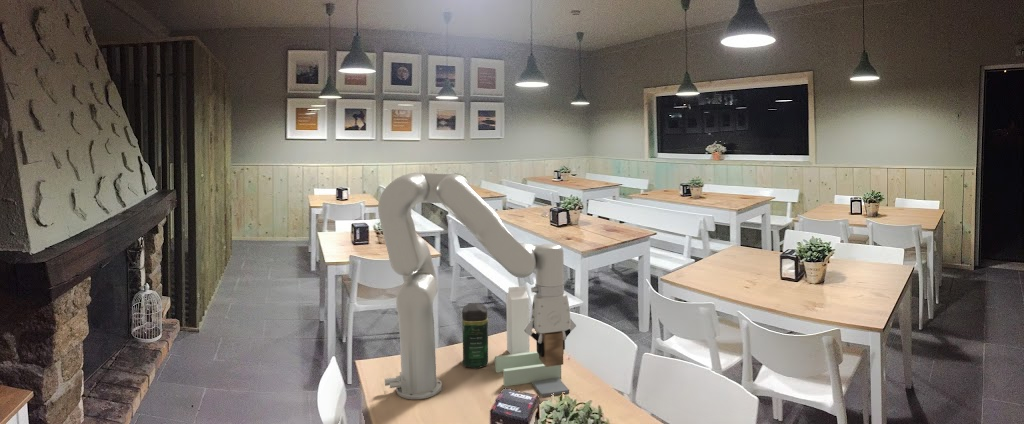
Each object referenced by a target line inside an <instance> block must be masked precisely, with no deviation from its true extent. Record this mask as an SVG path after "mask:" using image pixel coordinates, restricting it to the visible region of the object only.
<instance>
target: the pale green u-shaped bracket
mask: <svg viewBox="0 0 1024 424" xmlns="http://www.w3.org/2000/svg"><path fill="white" fill-rule="evenodd" d="M494 371H495V373H498V374H499V373H502V374H503V377H502V378H503V381H502V382H503V384H502V385H503V386H504V387H511V386H518V385H525V384H532V381H539V380H546V379H553V378H559V379H560V380H561V379H562V365H556V366H550V367H546V366H545V365H544V364H543V363H542V362H541V360H540V359H539V353H537V350H535V351H530V352H526V353H518V354H510V353H509V354H504V355H496V356H494Z"/></svg>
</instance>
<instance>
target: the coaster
mask: <svg viewBox="0 0 1024 424" xmlns="http://www.w3.org/2000/svg"><path fill="white" fill-rule="evenodd" d="M531 384H532V386H533V387H534V389H535V390H536V392H537V393H538V395H539V396H540V397H541V398H543V397H549V396H552V395H551V394H553V393H554V394H557V395H562V394H561V393H562V392H565V393H564V394H569V393H570V389H569V388H568V387H567V386H566V384H565V383H564V382H563V380H561V378H560V379H559V378H553V379H546V380H539V381H532V383H531Z"/></svg>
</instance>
